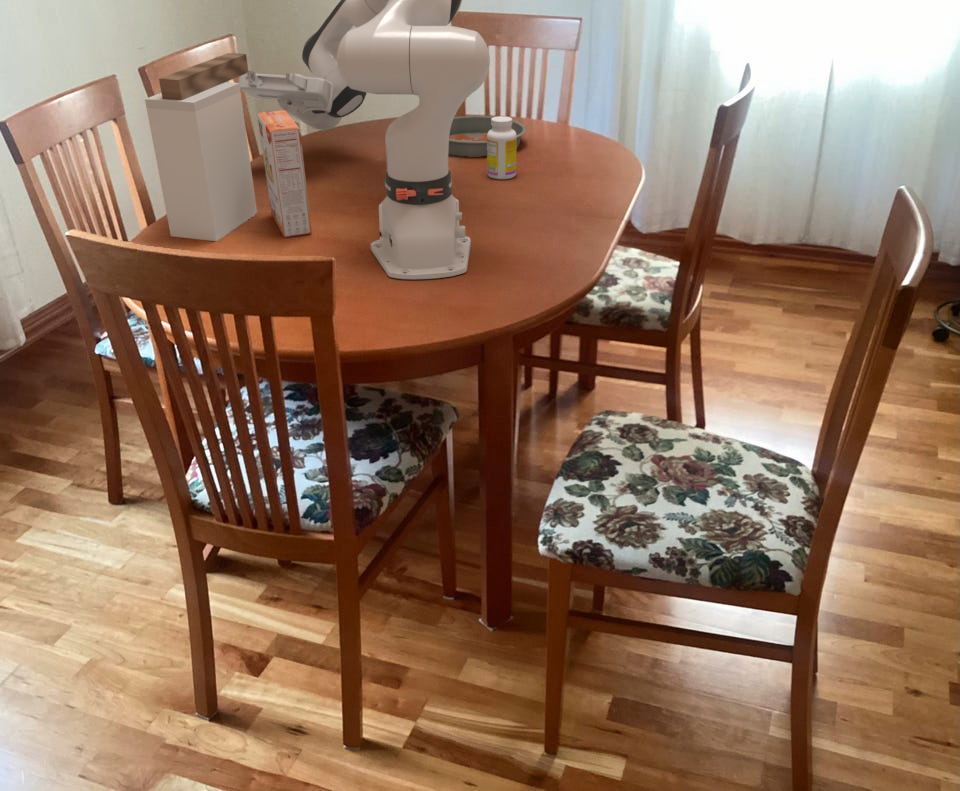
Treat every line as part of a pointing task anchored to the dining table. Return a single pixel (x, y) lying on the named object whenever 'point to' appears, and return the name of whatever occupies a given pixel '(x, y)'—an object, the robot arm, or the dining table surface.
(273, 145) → the cracker box
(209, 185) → the grey pedestal
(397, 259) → the robot arm
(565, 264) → the dining table surface
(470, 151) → the cake pan
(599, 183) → the dining table surface
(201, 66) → the walnut bar
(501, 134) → the supplement bottle
